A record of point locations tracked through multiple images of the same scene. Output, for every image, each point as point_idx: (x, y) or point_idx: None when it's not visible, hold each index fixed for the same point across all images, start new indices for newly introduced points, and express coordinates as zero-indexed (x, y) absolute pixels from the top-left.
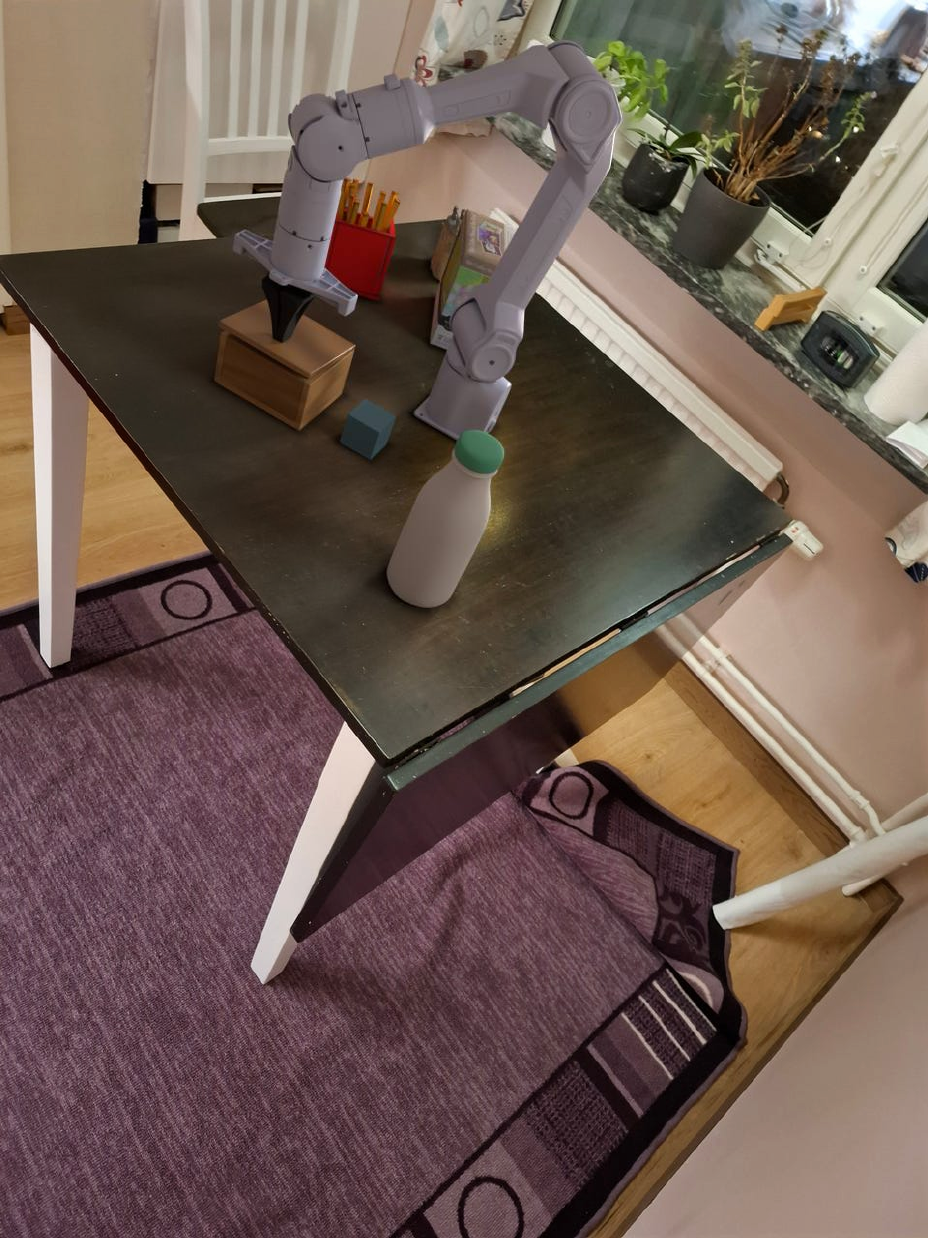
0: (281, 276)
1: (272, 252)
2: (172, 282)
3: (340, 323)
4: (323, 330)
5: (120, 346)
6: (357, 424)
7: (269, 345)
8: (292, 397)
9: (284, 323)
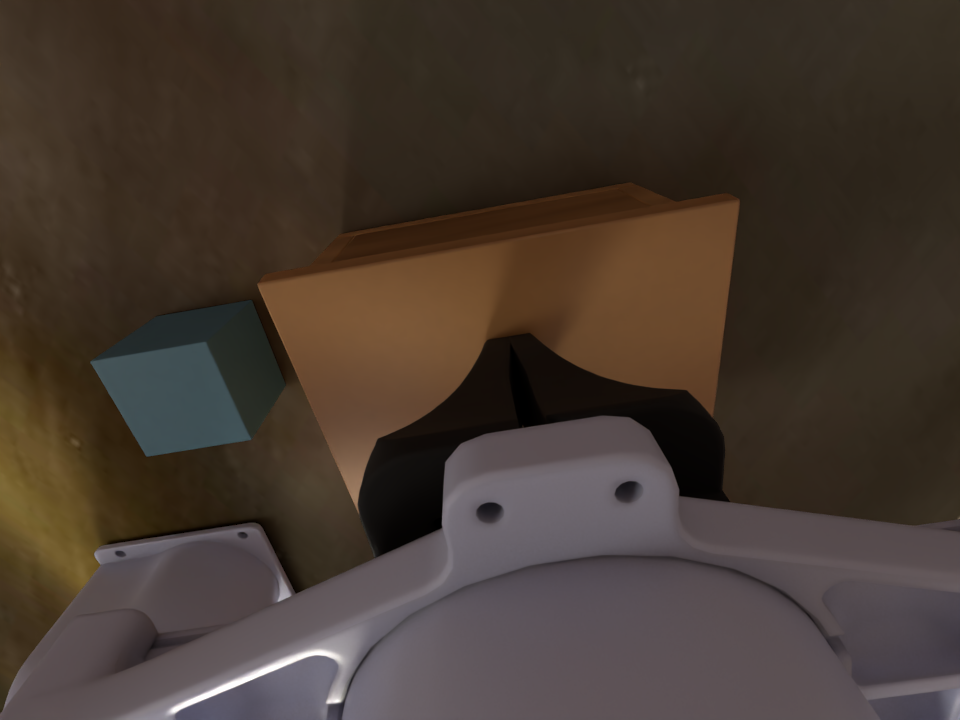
0: (523, 513)
1: (843, 703)
2: (944, 392)
3: None
4: None
5: (925, 37)
6: (174, 340)
7: (495, 276)
8: (365, 251)
9: (481, 372)
